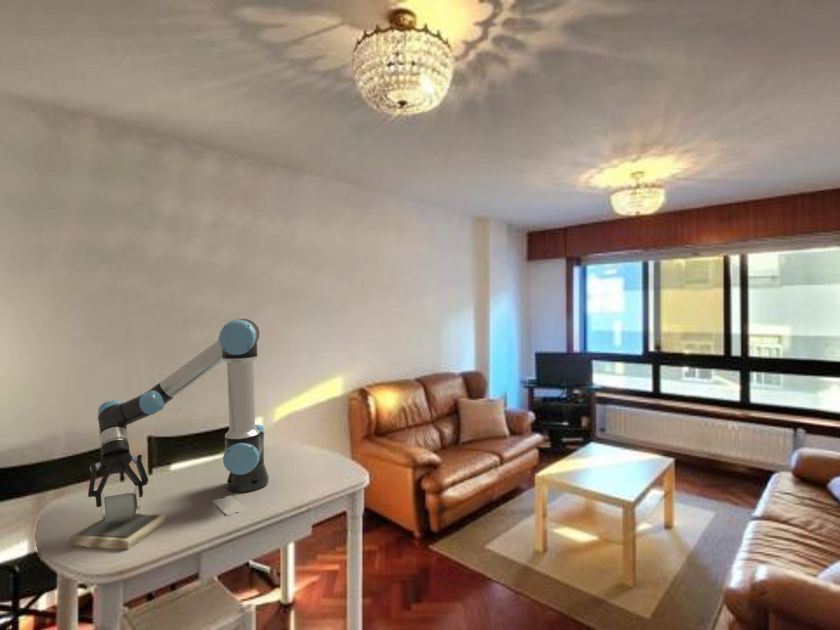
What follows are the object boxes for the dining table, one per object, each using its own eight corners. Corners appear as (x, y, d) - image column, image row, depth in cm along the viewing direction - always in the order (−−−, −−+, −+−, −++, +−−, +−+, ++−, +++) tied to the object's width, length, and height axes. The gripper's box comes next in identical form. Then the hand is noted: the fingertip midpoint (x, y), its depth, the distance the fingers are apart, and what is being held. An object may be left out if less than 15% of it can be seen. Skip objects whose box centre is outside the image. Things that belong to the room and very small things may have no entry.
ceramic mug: (137, 519, 137) (137, 494, 137) (104, 527, 132) (104, 501, 132) (131, 507, 145) (131, 484, 145) (100, 515, 140) (100, 490, 140)
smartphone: (226, 515, 149) (211, 500, 160) (226, 517, 149) (211, 502, 160) (248, 509, 154) (232, 494, 165) (248, 511, 154) (232, 496, 165)
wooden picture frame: (165, 522, 144) (165, 513, 144) (128, 549, 128) (128, 539, 128) (112, 519, 146) (112, 510, 146) (70, 545, 130) (69, 535, 130)
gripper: (150, 444, 155) (159, 507, 143) (74, 457, 142) (77, 527, 130) (153, 432, 151) (162, 496, 139) (74, 444, 137) (78, 516, 125)
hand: (121, 511), depth 134 cm, fingers closed on ceramic mug, 8 cm apart
